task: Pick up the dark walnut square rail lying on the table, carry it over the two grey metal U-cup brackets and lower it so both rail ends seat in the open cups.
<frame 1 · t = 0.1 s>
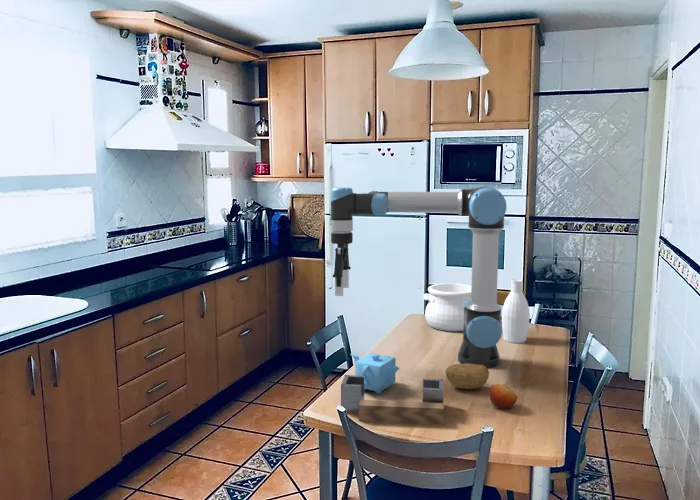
hand: (342, 291, 211), 28 cm above the table, fingers open, 13 cm apart
rail: (401, 420, 171), on the table
fruit: (502, 407, 180), on the table
bracket 2: (432, 409, 177), on the table
bracket 1: (352, 405, 181), on the table
teapot: (374, 388, 196), on the table
pot: (452, 326, 270), on the table
potato: (466, 388, 195), on the table
bottle: (514, 340, 248), on the table
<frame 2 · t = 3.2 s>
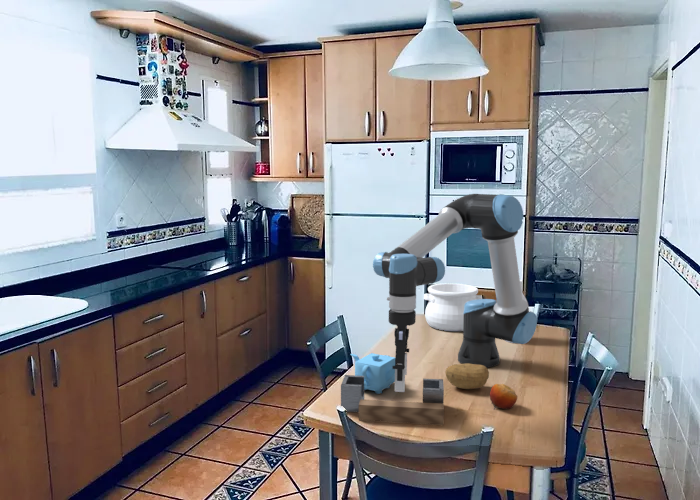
hand: (400, 382, 169), 11 cm above the table, fingers open, 13 cm apart
nothing on the table moved.
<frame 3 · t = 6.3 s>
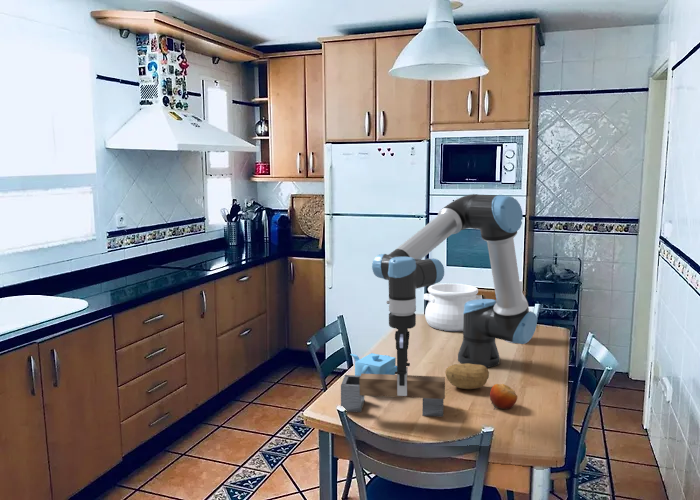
hand: (402, 391, 170), 8 cm above the table, fingers closed on rail, 4 cm apart
rail: (402, 394, 170), point 7 cm above the table, touching gripper
everything else where it was.
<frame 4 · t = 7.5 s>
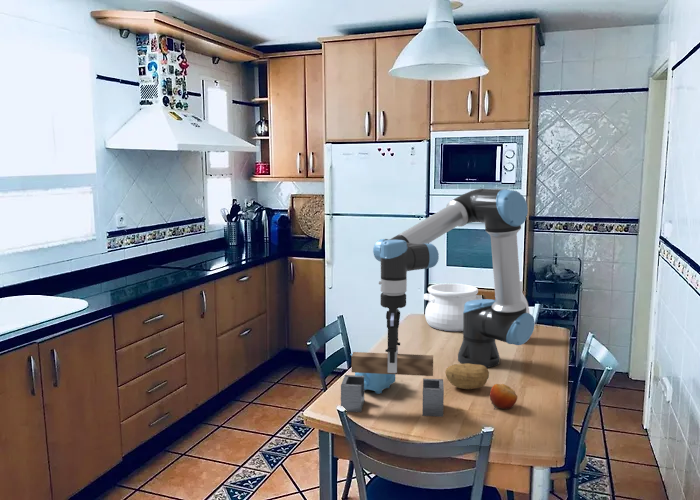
hand: (392, 369, 177), 12 cm above the table, fingers closed on rail, 4 cm apart
rail: (392, 371, 177), point 11 cm above the table, touching gripper
everything else where it was.
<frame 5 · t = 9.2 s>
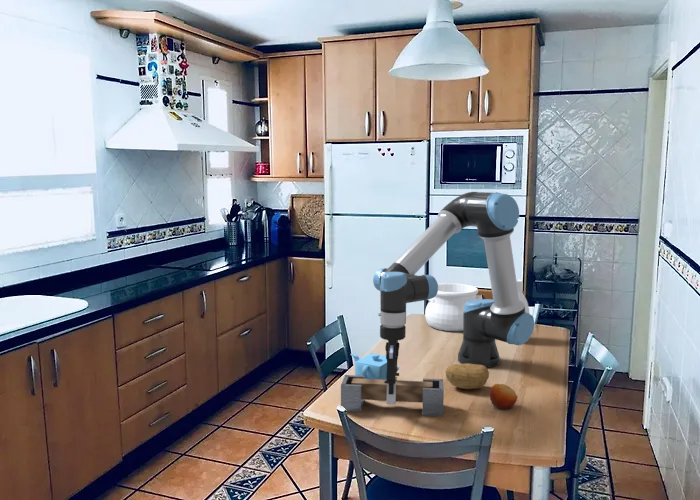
hand: (391, 400, 179), 2 cm above the table, fingers closed on rail, 4 cm apart
rail: (391, 398, 179), point 3 cm above the table, touching bracket 2, bracket 1, gripper
everything else where it was.
when the fingers open (2 cm above the table, at t = 9.8 s): rail stays where it is, resting on bracket 2, bracket 1.
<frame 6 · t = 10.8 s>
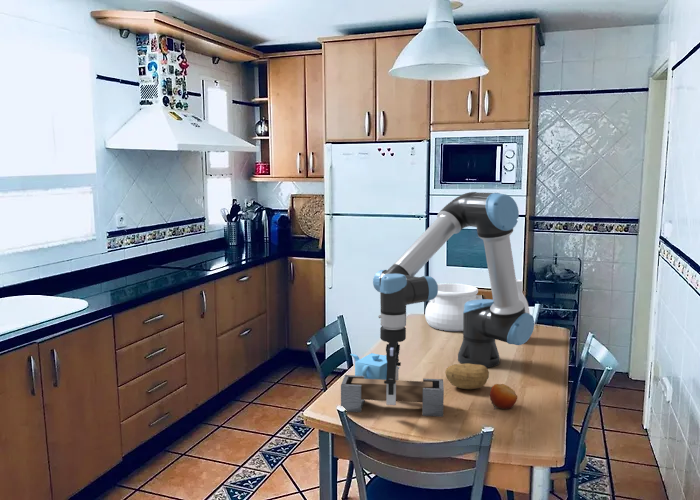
hand: (392, 395, 178), 4 cm above the table, fingers open, 13 cm apart
rail: (391, 398, 179), point 3 cm above the table, touching bracket 2, bracket 1
everything else where it was.
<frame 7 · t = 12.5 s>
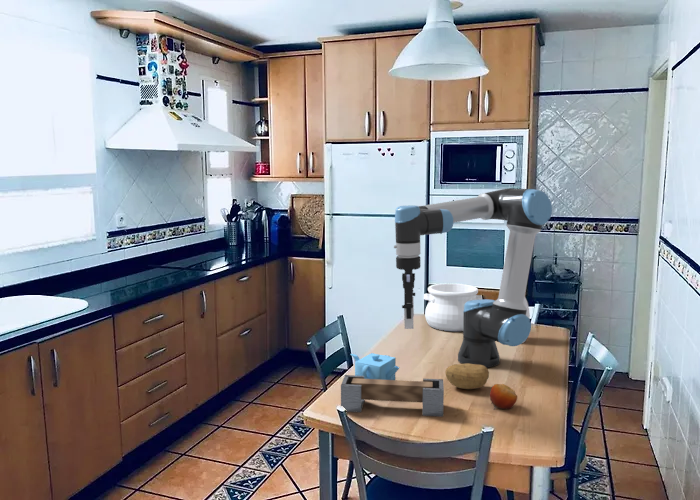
hand: (409, 322, 188), 23 cm above the table, fingers open, 13 cm apart
nothing on the table moved.
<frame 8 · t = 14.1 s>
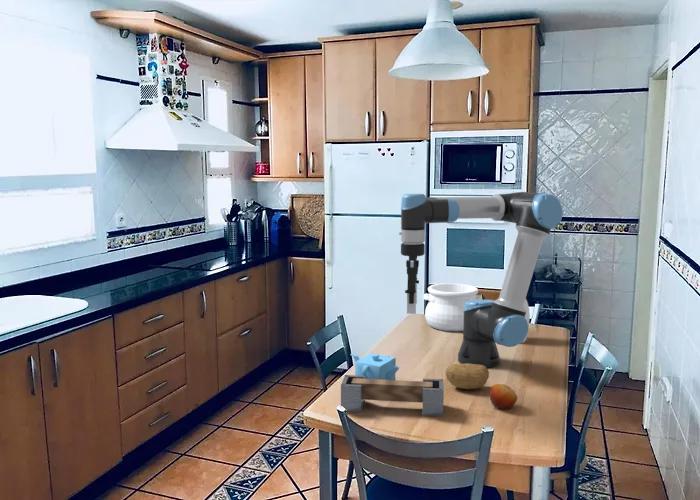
hand: (412, 308, 191), 27 cm above the table, fingers open, 13 cm apart
nothing on the table moved.
at the end: rail 0.2 cm from the target spot, point 3.0 cm above the table; rail tilted 0°; the gripper is holding nothing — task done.
